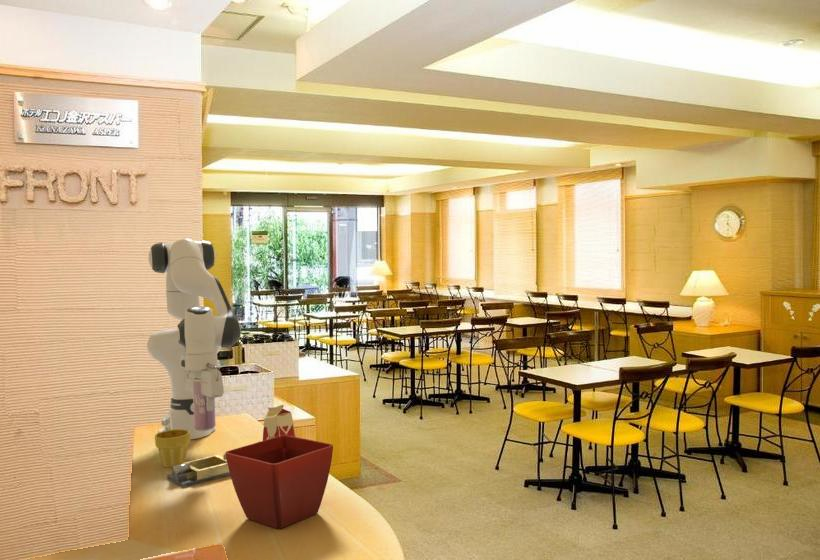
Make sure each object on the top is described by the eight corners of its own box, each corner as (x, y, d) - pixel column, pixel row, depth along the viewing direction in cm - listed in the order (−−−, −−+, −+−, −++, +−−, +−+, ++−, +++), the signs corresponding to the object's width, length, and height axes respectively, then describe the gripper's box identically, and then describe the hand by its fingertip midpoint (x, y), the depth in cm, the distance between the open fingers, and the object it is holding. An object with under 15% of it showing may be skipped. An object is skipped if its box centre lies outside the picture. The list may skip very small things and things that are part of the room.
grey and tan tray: (167, 478, 201) (166, 462, 201) (233, 461, 214) (232, 446, 214) (183, 487, 192) (182, 470, 192) (251, 469, 206) (250, 453, 205)
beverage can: (218, 425, 205) (216, 376, 204) (210, 431, 199) (208, 380, 198) (199, 425, 206) (197, 376, 205) (191, 431, 200) (189, 380, 199)
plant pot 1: (191, 466, 211) (189, 435, 211) (155, 471, 208) (153, 439, 208) (191, 457, 221) (190, 427, 221) (157, 461, 218) (155, 431, 218)
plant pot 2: (287, 496, 182) (284, 433, 181) (338, 511, 169) (335, 444, 169) (226, 520, 167) (223, 451, 166) (277, 538, 155) (274, 464, 154)
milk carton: (302, 469, 204) (299, 402, 203) (277, 477, 198) (273, 408, 197) (284, 463, 211) (281, 398, 210) (259, 471, 204) (255, 404, 203)
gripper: (227, 364, 196) (230, 412, 196) (197, 357, 211) (200, 402, 212) (206, 367, 192) (209, 416, 192) (177, 360, 207) (180, 406, 208)
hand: (204, 408), depth 202 cm, fingers closed on beverage can, 5 cm apart
